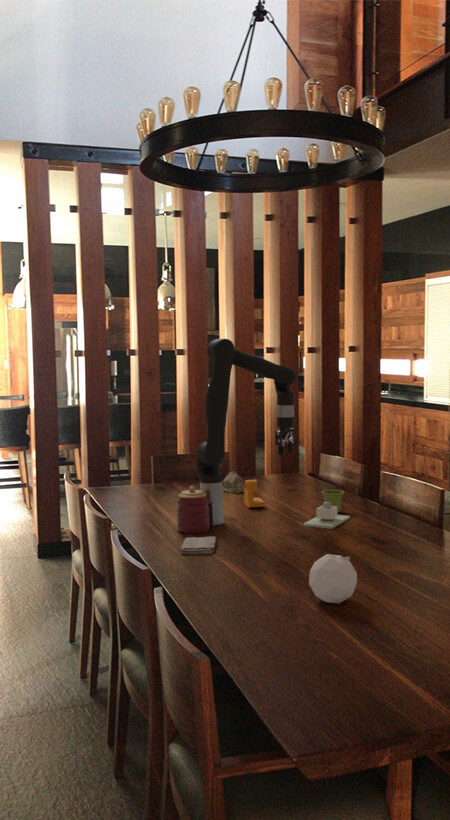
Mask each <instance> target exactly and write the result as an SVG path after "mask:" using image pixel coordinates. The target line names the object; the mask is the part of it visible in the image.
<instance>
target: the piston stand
mask: <svg viewBox="0 0 450 820" xmlns="http://www.w3.org/2000/svg"><path fill="white" fill-rule="evenodd" d="M323 507H324V509H331V507H330V502H323ZM349 519H351V516H350V515H343V514H337V517H335V518H333V519H332V520H331V519H320V518H317V516H315V517H314V518H312V519H309V520H308V521H305V522H304V523H303V527H308V528H309V527H311V528H318V529H320V528H321V529H329V530H331V529H332V530H333V529H334V528H336V527H337V526H339V525H341V524H343V523H344V522H346V521H348V520H349Z"/></svg>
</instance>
